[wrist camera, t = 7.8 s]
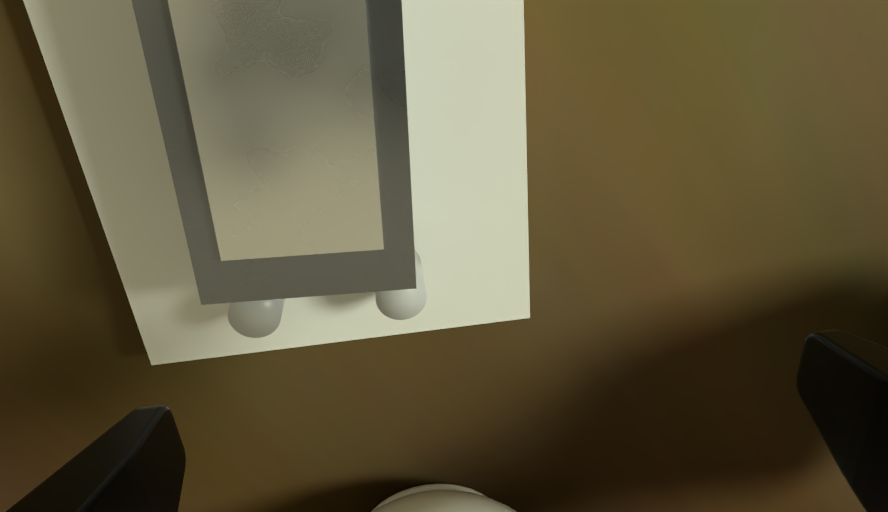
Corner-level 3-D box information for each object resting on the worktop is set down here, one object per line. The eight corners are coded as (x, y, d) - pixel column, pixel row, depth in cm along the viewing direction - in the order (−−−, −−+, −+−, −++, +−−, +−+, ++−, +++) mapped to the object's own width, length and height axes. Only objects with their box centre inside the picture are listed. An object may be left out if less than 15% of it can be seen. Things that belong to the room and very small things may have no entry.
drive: (389, -89, 16) (397, -92, 12) (406, 220, 19) (417, 292, 15) (171, -84, 15) (108, -84, 11) (232, 232, 19) (199, 309, 15)
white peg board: (505, -305, 15) (539, -358, 12) (521, 298, 22) (544, 354, 19) (-43, -268, 14) (-146, -314, 11) (162, 343, 22) (131, 407, 19)
